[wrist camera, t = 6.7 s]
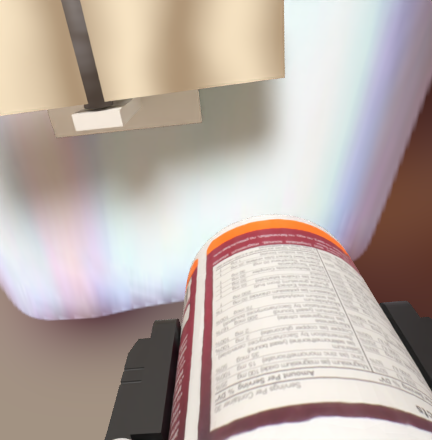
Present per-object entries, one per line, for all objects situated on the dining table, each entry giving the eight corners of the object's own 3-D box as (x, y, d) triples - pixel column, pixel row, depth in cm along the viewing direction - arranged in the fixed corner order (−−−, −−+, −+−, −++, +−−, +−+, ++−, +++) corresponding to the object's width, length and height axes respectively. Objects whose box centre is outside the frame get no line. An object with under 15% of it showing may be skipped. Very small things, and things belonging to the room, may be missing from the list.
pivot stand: (175, -101, 23) (158, -157, 16) (202, 119, 29) (198, 145, 23) (-6, -77, 23) (-94, -120, 17) (60, 134, 30) (16, 164, 23)
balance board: (273, -70, 21) (283, -79, 19) (276, 80, 24) (285, 82, 23) (-179, -30, 18) (-210, -37, 16) (-96, 130, 22) (-115, 137, 20)
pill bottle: (267, 357, 16) (361, 939, 6) (154, 285, 14) (-9, 973, 4) (382, 271, 13) (871, 979, 3) (266, 172, 11) (605, 1109, 2)
